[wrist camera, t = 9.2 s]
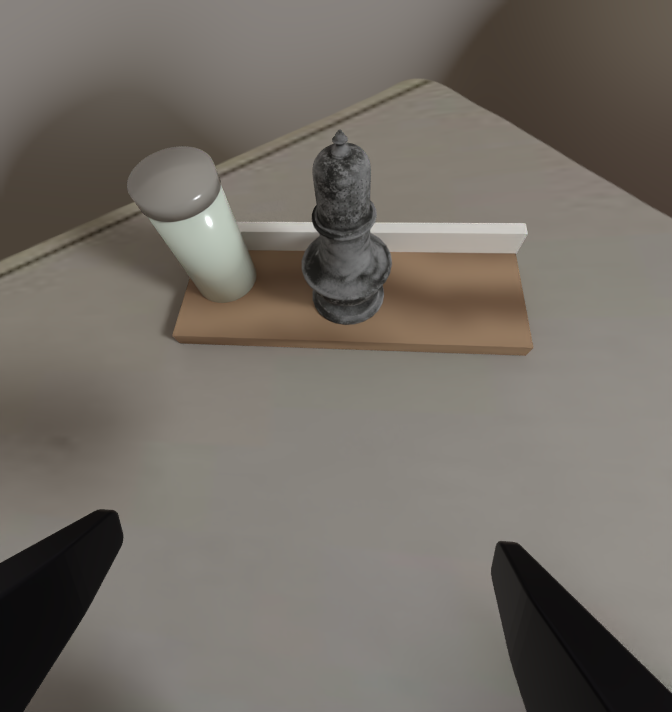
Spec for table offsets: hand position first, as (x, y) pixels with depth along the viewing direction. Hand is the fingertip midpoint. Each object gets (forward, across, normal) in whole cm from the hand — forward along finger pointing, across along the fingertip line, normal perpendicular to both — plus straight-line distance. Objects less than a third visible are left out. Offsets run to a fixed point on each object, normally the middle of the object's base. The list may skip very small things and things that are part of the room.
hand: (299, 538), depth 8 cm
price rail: (+24, 0, -5) cm, 24 cm away
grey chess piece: (+20, 0, -2) cm, 20 cm away
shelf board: (+21, 0, -2) cm, 21 cm away
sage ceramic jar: (+21, +10, -3) cm, 23 cm away
